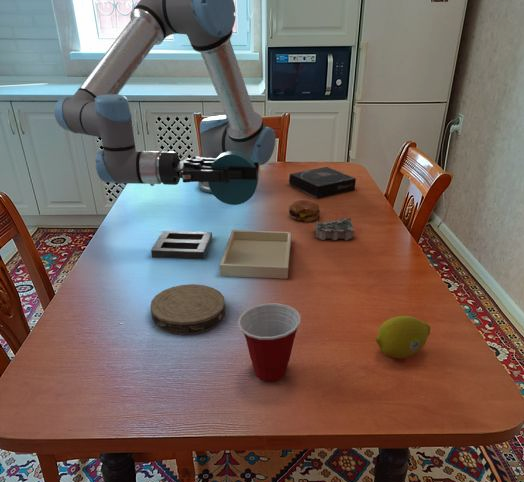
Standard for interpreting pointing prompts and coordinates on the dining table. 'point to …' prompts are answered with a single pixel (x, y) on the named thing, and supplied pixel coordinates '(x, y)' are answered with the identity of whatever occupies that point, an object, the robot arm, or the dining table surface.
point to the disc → (233, 180)
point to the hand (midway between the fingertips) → (257, 170)
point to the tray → (257, 254)
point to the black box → (322, 182)
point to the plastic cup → (270, 338)
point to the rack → (182, 245)
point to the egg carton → (335, 229)
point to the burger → (304, 210)
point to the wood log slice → (188, 309)
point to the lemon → (402, 336)
